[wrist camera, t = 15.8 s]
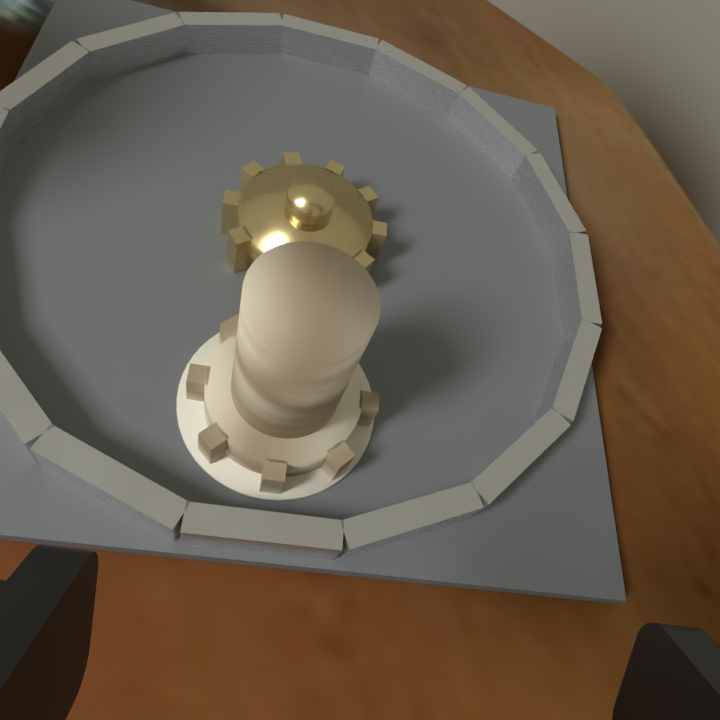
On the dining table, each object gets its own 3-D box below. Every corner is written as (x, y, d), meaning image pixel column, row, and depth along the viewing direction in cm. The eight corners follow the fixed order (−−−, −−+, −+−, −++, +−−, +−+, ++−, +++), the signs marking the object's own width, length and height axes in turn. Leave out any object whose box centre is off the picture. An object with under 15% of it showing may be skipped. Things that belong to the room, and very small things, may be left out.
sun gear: (378, 202, 37) (397, 151, 33) (371, 319, 32) (392, 275, 29) (234, 171, 35) (238, 114, 32) (208, 290, 31) (209, 240, 28)
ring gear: (549, 110, 45) (564, 87, 43) (617, 590, 28) (644, 584, 27) (69, -12, 39) (63, -44, 37) (-192, 503, 23) (-223, 487, 21)
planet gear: (373, 341, 32) (431, 227, 24) (364, 504, 27) (430, 429, 20) (205, 312, 30) (209, 180, 22) (168, 480, 26) (158, 388, 18)
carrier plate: (547, 118, 46) (555, 105, 45) (613, 603, 29) (629, 600, 28) (67, -2, 40) (63, -20, 39) (-195, 519, 23) (-212, 511, 22)
